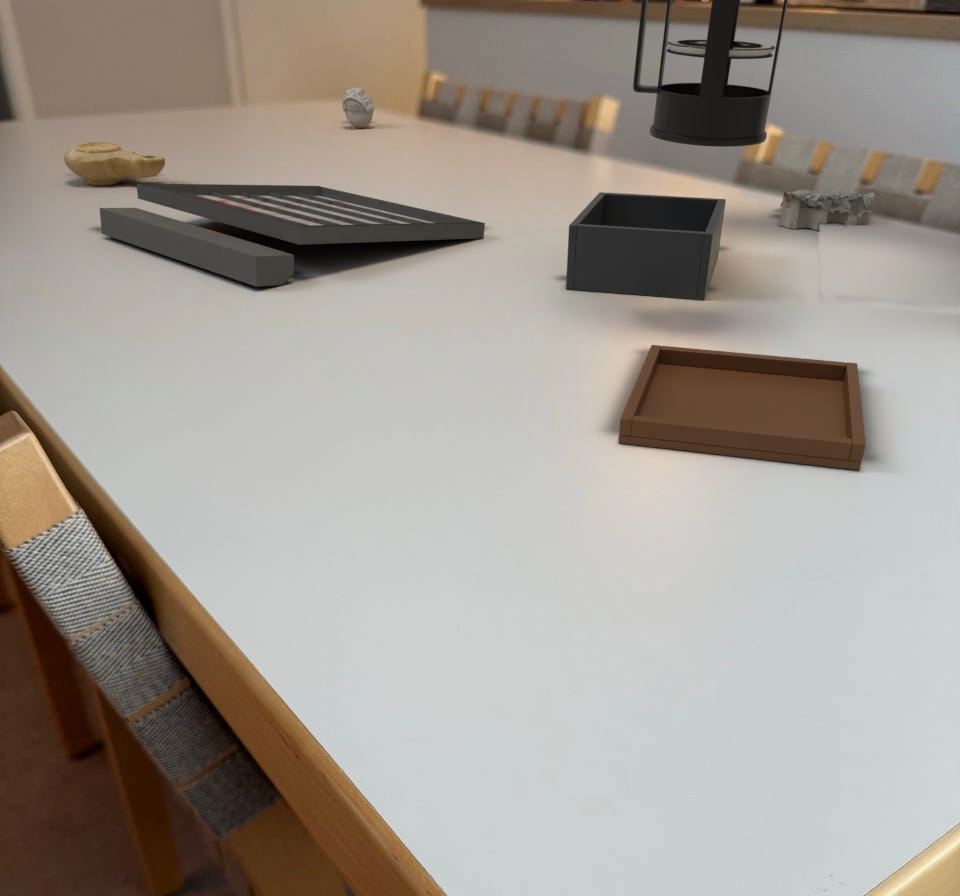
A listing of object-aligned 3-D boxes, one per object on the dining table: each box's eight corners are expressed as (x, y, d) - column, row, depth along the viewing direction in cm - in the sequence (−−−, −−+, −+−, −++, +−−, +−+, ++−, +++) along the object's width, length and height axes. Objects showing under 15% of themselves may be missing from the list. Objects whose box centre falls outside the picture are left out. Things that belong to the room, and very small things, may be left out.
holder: (717, 258, 105) (726, 199, 102) (704, 300, 92) (712, 234, 89) (595, 249, 108) (599, 192, 105) (565, 289, 95) (568, 225, 92)
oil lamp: (169, 187, 137) (162, 149, 134) (63, 192, 135) (54, 152, 132) (170, 174, 146) (164, 137, 143) (71, 178, 143) (63, 141, 140)
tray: (852, 385, 74) (857, 362, 73) (859, 470, 61) (866, 444, 60) (649, 366, 77) (651, 344, 76) (618, 443, 65) (620, 418, 64)
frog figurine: (337, 130, 184) (334, 88, 180) (353, 125, 189) (350, 84, 185) (366, 131, 182) (364, 89, 178) (381, 126, 188) (379, 85, 184)
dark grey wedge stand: (318, 241, 133) (103, 248, 113) (317, 185, 130) (95, 182, 110) (482, 272, 114) (259, 287, 94) (485, 207, 111) (255, 209, 91)
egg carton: (773, 228, 117) (778, 191, 115) (784, 216, 123) (790, 181, 120) (864, 236, 113) (872, 198, 111) (871, 223, 119) (879, 187, 116)
